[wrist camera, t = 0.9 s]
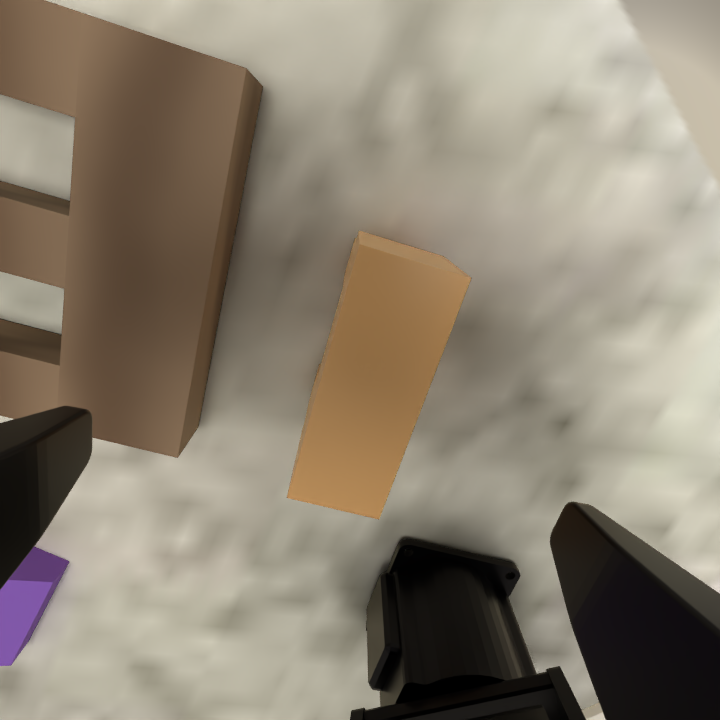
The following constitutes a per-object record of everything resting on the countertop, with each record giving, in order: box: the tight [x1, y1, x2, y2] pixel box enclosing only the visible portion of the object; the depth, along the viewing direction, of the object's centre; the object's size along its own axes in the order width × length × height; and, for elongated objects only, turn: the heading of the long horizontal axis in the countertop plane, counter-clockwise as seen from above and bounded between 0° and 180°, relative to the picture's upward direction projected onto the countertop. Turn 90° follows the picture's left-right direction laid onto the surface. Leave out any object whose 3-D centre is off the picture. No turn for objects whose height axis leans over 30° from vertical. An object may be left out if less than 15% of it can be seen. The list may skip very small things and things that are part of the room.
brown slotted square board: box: [0, 0, 263, 458], centre depth 16 cm, size 14×14×2 cm
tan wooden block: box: [287, 231, 471, 519], centre depth 16 cm, size 3×8×6 cm, turn 164°
